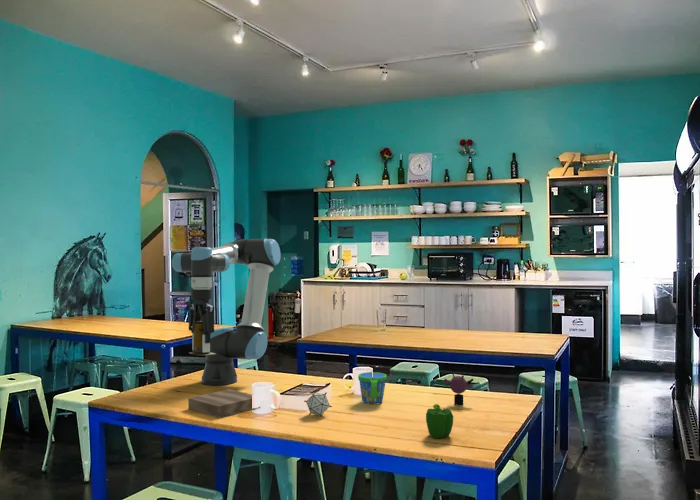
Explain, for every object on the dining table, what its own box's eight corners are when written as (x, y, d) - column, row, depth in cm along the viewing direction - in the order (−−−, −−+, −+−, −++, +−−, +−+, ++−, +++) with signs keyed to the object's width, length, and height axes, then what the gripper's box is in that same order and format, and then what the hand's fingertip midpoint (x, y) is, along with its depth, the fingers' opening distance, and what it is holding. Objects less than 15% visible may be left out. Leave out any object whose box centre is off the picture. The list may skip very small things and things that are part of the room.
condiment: (206, 351, 224) (206, 319, 225) (216, 354, 218) (216, 321, 218) (188, 353, 220) (188, 321, 220) (197, 356, 213) (197, 322, 214)
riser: (229, 399, 225) (229, 389, 225) (260, 407, 213) (260, 396, 213) (188, 409, 211) (188, 397, 211) (219, 418, 199) (219, 406, 199)
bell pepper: (441, 430, 184) (441, 398, 185) (458, 437, 177) (458, 404, 177) (419, 434, 180) (419, 401, 181) (435, 442, 173) (435, 407, 173)
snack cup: (386, 407, 212) (386, 379, 212) (357, 407, 213) (357, 379, 213) (386, 397, 228) (386, 370, 228) (359, 397, 228) (359, 370, 228)
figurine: (474, 404, 216) (474, 371, 216) (460, 408, 211) (460, 374, 211) (457, 400, 222) (457, 368, 222) (443, 403, 217) (442, 371, 217)
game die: (323, 425, 203) (341, 402, 203) (309, 422, 196) (327, 398, 196) (309, 408, 209) (326, 386, 208) (294, 404, 202) (312, 381, 202)
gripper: (178, 288, 224) (178, 349, 223) (207, 289, 211) (206, 355, 210) (196, 287, 229) (195, 347, 229) (224, 289, 216) (224, 352, 216)
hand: (201, 351), depth 219 cm, fingers closed on condiment, 6 cm apart
